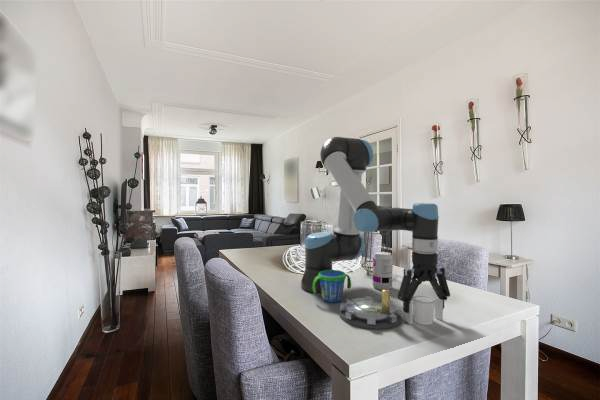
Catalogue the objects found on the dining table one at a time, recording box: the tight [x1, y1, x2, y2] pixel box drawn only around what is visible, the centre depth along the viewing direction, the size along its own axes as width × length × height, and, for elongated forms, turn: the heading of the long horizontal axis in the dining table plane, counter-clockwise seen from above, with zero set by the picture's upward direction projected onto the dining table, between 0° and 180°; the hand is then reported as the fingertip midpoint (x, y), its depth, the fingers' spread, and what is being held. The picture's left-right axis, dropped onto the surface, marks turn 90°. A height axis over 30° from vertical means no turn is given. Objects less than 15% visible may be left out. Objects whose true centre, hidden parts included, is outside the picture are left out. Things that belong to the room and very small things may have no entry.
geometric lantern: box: [361, 205, 392, 276], centre depth 151 cm, size 16×16×35 cm
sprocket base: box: [338, 310, 403, 331], centre depth 99 cm, size 20×20×1 cm
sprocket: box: [339, 289, 402, 325], centre depth 99 cm, size 20×20×9 cm
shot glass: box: [412, 295, 435, 326], centre depth 96 cm, size 7×7×7 cm
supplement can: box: [372, 251, 394, 291], centre depth 130 cm, size 8×8×15 cm
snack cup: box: [312, 269, 352, 303], centre depth 114 cm, size 16×10×10 cm
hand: (423, 320), depth 96 cm, fingers open, 11 cm apart
